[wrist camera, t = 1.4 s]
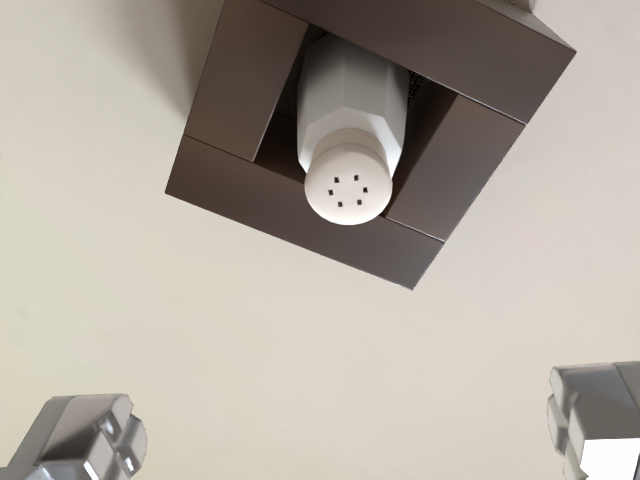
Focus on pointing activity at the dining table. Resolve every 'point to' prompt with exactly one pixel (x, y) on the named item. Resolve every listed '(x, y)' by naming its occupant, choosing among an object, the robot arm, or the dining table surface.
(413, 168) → the holder
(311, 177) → the pepper shaker
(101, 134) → the dining table surface
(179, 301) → the dining table surface
